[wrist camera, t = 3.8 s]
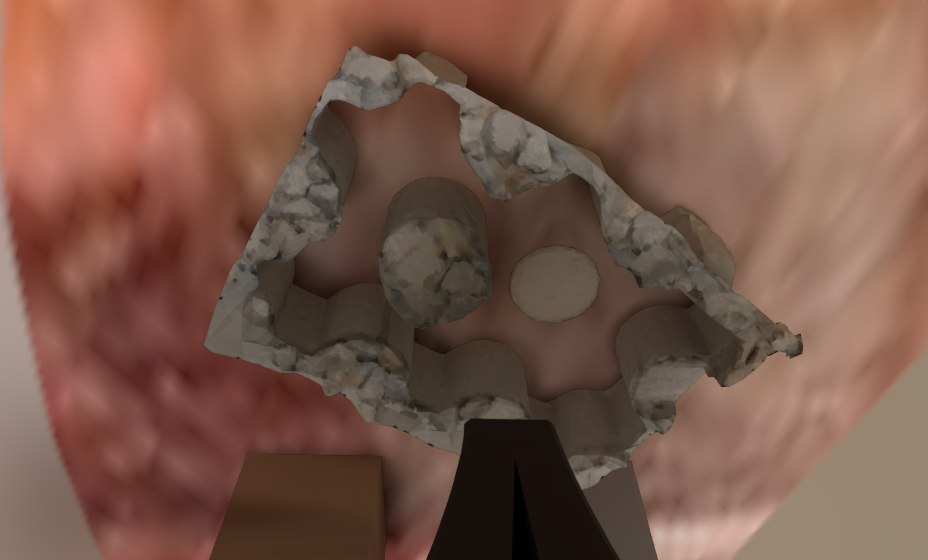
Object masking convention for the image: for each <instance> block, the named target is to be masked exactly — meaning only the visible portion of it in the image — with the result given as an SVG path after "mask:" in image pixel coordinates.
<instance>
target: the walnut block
mask: <svg viewBox="0 0 928 560" xmlns="http://www.w3.org/2000/svg"><path fill="white" fill-rule="evenodd" d="M386 542H387V535H386V520H385V504H384V489H383V473H382V458H381V456H354V455H300V454H247V456H246V458H245V461H244V464H243V467H242V470H241V472H240V475H239V478H238V481H237V483H236V486H235V489H234V492H233V495H232V497H231V500H230V503H229V506H228V509H227V511H226V514H225V517H224V520H223V523H222V525H221V528H220V531H219V534H218V537H217V539H216V542H215V545H214V548H213V550H212V553H211V556H210V559H209V560H385V551H386Z"/></svg>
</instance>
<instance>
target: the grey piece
mask: <svg viewBox="0 0 928 560" xmlns="http://www.w3.org/2000/svg"><path fill="white" fill-rule="evenodd" d="M417 82H423V83H425V84H427V85H430V86H432V87H435V88H438V89H440V90H443V91H445V92H446V93H447V94H448V95H449V96H450V97H452V98H453V99H454V100H455V101H456V102H458V103H459V104H460V113H459V118H460V121H461V124H460V132H459V136H460V145H461V151H462V153H463V154H464V156H465V158H466V160H467V161H468V163H469V165H470V167H471V168H472V170H473V172H474V173H475V174H476V175H477V176H478V178H479V179H480V180H481V181H482V183H483V185H484V187H485V189H486V191H487V193H488V195H489V196H490V197H492V198H495V199H498V200H501V201H504V202H506V201H507V200H509V199H511V198H512V197H514V196H515V195H517V194H519V193H521V192H523V191H525V190H529V189H532V188H539V187H546V186H550V185H553V184H555V183H557V182H560V181H561V180H563V179H564V178H565V177H566V176H568V175H569V174H573V173H575V174H577V175H579V176H580V177H582V178H583V179H585V180H586V181H587V182H588V183H589V184H590V188H591V194H592V199H593V203H594V206H595V209H596V211H597V214H598V217H599V221H600V224H601V229H602V235H603V237H604V239H605V241H606V244H607V246H608V251H609V253H610V255H611V257H612V259H613V261H614V263H615V265H617V266H620V267H623V268H626V269H628V270H629V271H630V272H632V273H633V275H634V277H635V279H636V281H637V283H638V286H639V288H652V287H664V288H665V290H667V291H670V290H676V289H680V290H681V291H682V292H683V293H684V294H685V295H687V296H688V297H689V298H690V299H691V300H692V301H693V302H694V304H693V305H692V306H691V307H689V308H688V309H687V308H682V307H677V306H672V305H657V306H652V307H649V308H646V309H643V310H640V311H638V312H637V313H635V314H634V315H632V316H631V317H630V318H629V319H628V320H627V321H626V322H625V323H624V324H623V325H622V327H621V329H620V330H619V332H618V334H617V337H616V340H615V350H616V354H617V357H618V361H619V365H620V369H621V373H622V376H623V378H621V379H620V380H618V381H617V382H616V383H615V384H614V385H613V386H612V387H611V388H609V389H608V390H604V391H599V390H592V389H577V390H572V391H569V392H567V393H564V394H562V395H560V396H558V397H557V398H556V399H554V400H552V401H549V402H547V403H545V402H542V401H539V400H537V399H534V398H532V397H530V396H528V393H527V382H526V375H525V366H524V363H523V361H522V359H521V358H520V356H519V355H518V354H517V353H516V352H515V351H514V350H513V349H512V348H511V347H509V346H508V345H505V344H503V343H500V342H496V341H490V340H485V339H484V340H474V341H470V342H467V343H463V344H460V345H459V346H457V347H455V348H454V349H452V350H450V351H449V352H447V353H445V354H440V353H437V352H435V351H433V350H431V349H429V348H427V347H424V346H422V345H420V344H418V343H416V342H414V331H415V327H416V328H418V329H424V328H427V327H430V326H433V325H435V324H437V323H438V322H452V321H455V320H458V319H461V318H463V317H465V316H466V315H468V314H470V313H471V312H472V311H473V310H475V309H476V308H477V307H478V306H479V305H480V304H481V303H482V302H483V301H484V300H489V298H490V296H491V294H492V292H493V283H494V272H493V270H492V267H491V265H490V262H489V256H488V247H487V232H486V220H485V214H484V211H483V208H482V206H481V204H480V202H479V200H478V199H477V198H476V196H475V195H474V194H473V192H472V191H471V190H470V189H468V188H467V187H466V186H464V185H462V184H460V183H459V182H458V181H454V180H450V179H447V178H444V177H426V178H422V179H418V180H415V181H413V182H411V183H409V184H408V185H407V186H406V187H404V188H403V189H402V190H401V191H399V192H398V193H397V194H396V195H395V196H394V198H393V201H392V202H391V205H390V207H389V211H388V215H387V220H386V224H385V229H384V233H383V237H382V243H381V245H380V248H379V251H378V254H377V255H378V271H379V280H380V282H381V283H382V285H380V284H375V283H359V284H355V285H351V286H349V287H346V288H344V289H342V290H340V291H339V292H337V293H336V294H335V295H333V296H332V297H330V298H328V299H324V298H321V297H319V296H316V295H314V294H312V293H310V292H308V291H306V290H303V289H301V288H299V287H297V286H296V285H294V284H293V279H294V275H295V261H294V257H295V256H296V255H297V254H298V253H299V252H300V251H301V250H303V249H304V248H305V247H306V246H307V245H308V244H310V243H315V242H320V241H325V240H327V239H328V238H329V237H331V236H332V235H334V234H335V232H336V230H337V228H338V226H339V224H340V223H341V221H342V218H343V215H342V207H343V205H344V201H345V197H346V195H347V192H348V189H349V186H350V184H351V181H352V178H353V175H354V172H355V167H356V162H357V153H356V146H355V141H354V139H353V137H352V135H351V133H350V131H349V129H348V128H347V127H346V125H345V124H344V123H343V121H342V120H341V119H340V118H338V117H337V116H336V115H335V114H334V113H333V112H332V111H331V110H330V109H329V107H328V104H329V102H330V101H333V100H340V101H344V102H347V103H350V104H352V105H354V106H356V107H359V108H362V109H365V110H372V109H376V108H380V107H384V106H387V105H389V104H391V103H394V102H396V101H398V100H400V99H401V98H402V97H403V95H404V93H405V92H406V91H407V90H408V89H409V88H410V87H411V86H413V85H414V84H415V83H417ZM466 84H467V75H466V74H464V73H463V72H462V71H460V70H459V69H458V68H457V67H456V66H455V65H453V64H452V63H449V62H448V61H446V60H445V59H443V58H441V57H439V56H436V55H434V54H431V53H428V52H424V51H423V52H422V53H421V54H420V55H419V56H417V57H416V58H415V59H414V58H412V57H411V56H409V55H407V54H399V55H398V56H397V57H396V58H395V60H394V61H388V60H385V59H382V58H379V57H376V56H372V55H369V54H366V53H365V52H364V51H362V50H361V49H360V48H359V47H351V48H349V50H348V52H347V54H346V57H345V59H344V62H343V64H342V66H341V68H340V70H339V72H338V73H337V74H336V76H335V77H334V78H333V79H331V80H330V81H329V82H328V84H327V86H326V88H325V90H324V92H323V93H322V95H321V97H320V99H319V101H318V103H317V105H316V107H315V109H314V111H313V113H312V116H311V118H310V120H309V122H308V125H307V127H306V130H305V132H304V135H303V140H302V144H301V146H300V148H299V150H298V152H297V154H296V157H295V158H294V159H293V160H292V161H291V162H290V163H289V164H288V165H287V166H286V168H285V169H284V171H283V173H282V174H281V176H280V178H279V180H278V182H277V184H276V186H275V189H274V191H273V194H272V196H271V199H270V201H269V204H268V207H267V209H266V210H265V211H264V213H263V214H262V215H261V217H260V219H259V221H258V223H257V225H256V227H255V229H254V231H253V233H252V235H251V237H250V239H249V241H248V243H247V246H246V248H245V250H244V252H243V254H242V256H241V259H240V260H238V258H237V259H236V261H235V263H234V265H233V267H232V269H231V271H230V273H229V276H228V278H227V281H226V283H225V286H224V288H223V291H222V293H221V296H220V298H219V300H218V303H217V305H216V308H215V310H214V314H213V317H212V320H211V323H210V327H209V330H208V333H207V337H206V340H205V343H204V346H205V347H207V348H208V349H209V350H210V351H211V352H214V353H218V354H222V355H226V356H230V357H234V358H238V359H242V360H246V361H249V362H252V363H255V364H258V365H261V366H264V367H267V368H269V369H272V370H274V371H277V372H279V373H298V374H300V375H302V376H305V377H307V378H309V379H311V380H313V381H315V382H316V383H318V384H320V385H321V387H322V389H323V391H324V393H325V395H326V396H332V395H334V394H336V393H339V392H340V393H341V394H343V395H344V396H345V397H347V398H348V399H349V400H351V402H352V403H353V405H354V406H355V407H356V409H357V410H358V412H359V413H360V415H361V416H362V417H363V418H364V420H365V421H366V422H370V423H375V424H380V425H385V426H391V427H394V428H397V429H399V430H402V431H404V432H407V433H409V434H411V435H413V436H414V437H416V438H418V439H420V440H422V441H423V442H425V443H427V444H429V445H431V446H432V447H436V448H439V449H443V450H447V451H451V452H454V453H456V454H457V455H459V456H460V454H461V449H462V443H463V436H464V423H465V422H467V421H468V420H470V419H471V418H482V419H531V420H549V421H550V422H551V423H552V424H553V425H554V426H555V429H556V432H557V435H558V437H559V440H560V442H561V445H562V447H563V450H564V452H565V455H566V457H567V459H568V461H569V464H570V466H571V468H572V470H573V472H574V474H575V477H576V479H577V481H578V483H579V485H580V487H581V489H582V490H584V489H588V488H589V487H591V486H593V485H595V484H597V483H598V482H599V481H600V480H601V479H602V478H603V477H604V476H606V475H607V474H608V473H609V472H610V471H612V470H616V469H618V468H621V467H627V465H628V462H629V458H630V454H631V453H632V452H633V451H634V450H635V449H636V447H637V446H638V445H639V444H640V443H641V442H642V441H643V440H645V439H646V438H647V437H648V436H649V435H651V434H653V433H655V432H659V433H661V434H664V433H666V432H667V431H668V430H669V428H670V427H671V426H672V425H673V422H674V418H675V415H676V407H675V403H676V400H677V399H678V397H679V396H681V395H682V394H683V393H684V392H685V391H686V390H688V389H689V388H690V387H691V386H692V385H693V384H694V383H695V382H696V381H697V380H698V379H699V378H700V377H701V376H702V375H703V374H704V373H705V372H706V373H707V375H708V377H715V379H716V380H717V381H718V383H719V384H720V386H721V387H729V386H731V385H733V384H735V383H737V382H739V381H741V380H743V379H744V378H745V377H747V376H748V375H749V374H750V373H752V372H753V371H754V370H755V369H756V368H757V367H758V366H759V365H761V364H762V363H763V362H764V360H765V359H766V357H767V356H770V355H772V354H774V353H776V352H778V351H780V352H785V353H786V357H787V356H789V355H790V359H791V358H793V357H795V356H798V355H800V354H802V351H803V343H802V338H801V334H798V335H795V336H794V335H793V334H792V333H791V332H790V331H789V330H788V328H787V326H786V325H784V324H782V323H781V322H778V323H774V322H773V321H772V320H770V319H769V318H768V317H767V316H765V315H764V314H763V313H762V312H761V311H760V310H759V309H758V308H756V307H755V306H754V305H753V304H752V303H751V302H750V301H749V300H748V299H746V298H745V297H743V296H742V295H739V294H737V293H735V292H734V291H733V290H732V289H731V288H732V282H733V277H734V271H735V266H736V265H735V262H734V259H733V256H732V253H731V250H730V249H729V248H728V247H727V246H726V245H725V243H724V242H723V240H722V239H721V238H720V237H719V236H718V235H716V234H715V233H714V232H712V231H711V229H710V228H709V226H708V225H707V224H706V223H704V222H703V221H702V220H701V219H700V218H698V217H697V216H695V215H693V214H691V213H689V212H688V211H686V210H684V209H682V208H680V207H675V208H673V209H672V210H671V211H669V212H668V213H666V214H665V215H663V216H660V217H657V216H656V215H654V214H653V213H651V212H649V211H647V210H645V209H643V208H642V207H641V206H639V205H638V204H637V203H635V202H634V201H633V200H632V199H631V198H630V197H629V196H628V195H627V194H626V193H625V192H624V191H623V190H622V189H621V188H620V186H619V185H618V184H617V183H615V182H614V181H613V180H612V179H611V178H610V177H609V176H607V175H606V172H605V170H604V167H603V165H602V164H601V160H600V158H599V157H598V156H597V154H595V153H593V152H592V151H589V150H587V149H585V148H582V147H579V146H576V145H573V144H570V143H568V142H565V141H563V140H561V139H559V138H557V137H556V136H554V135H552V134H550V133H549V132H547V131H545V130H543V129H541V128H539V127H538V126H536V125H534V124H532V123H530V122H528V121H526V120H524V119H522V118H520V117H519V116H517V115H515V114H513V113H511V112H509V111H507V110H505V109H503V108H501V107H499V106H498V105H496V104H494V103H492V102H490V101H488V100H486V99H484V98H483V97H481V96H479V95H477V94H476V93H474V92H472V91H470V90H469V89H467V88H466ZM599 283H600V274H599V272H598V270H597V267H596V264H595V262H594V261H593V260H592V259H591V258H590V257H588V256H587V255H586V254H585V253H584V252H582V251H579V250H575V249H574V248H573V247H567V246H565V245H557V246H547V247H543V248H538V249H536V250H534V251H532V252H530V253H528V254H526V255H525V256H524V257H523V258H522V259H521V260H519V261H518V262H517V264H516V266H515V268H514V269H513V271H512V273H511V277H510V287H509V290H510V293H511V296H512V299H513V302H514V303H515V304H516V305H517V306H518V307H519V308H520V309H521V310H522V311H523V312H524V313H525V314H526V315H527V316H528V317H529V318H530V319H532V320H536V321H539V322H549V323H558V322H562V321H566V320H569V319H572V318H575V317H577V316H579V315H581V314H583V313H584V312H585V311H586V310H587V309H588V307H589V306H590V305H591V304H592V303H593V302H594V300H595V299H596V298H597V295H598V289H599Z"/></svg>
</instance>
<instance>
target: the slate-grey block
mask: <svg viewBox="0 0 928 560" xmlns="http://www.w3.org/2000/svg"><path fill="white" fill-rule="evenodd" d="M582 491H583V493H584V495H585V497H586V499H587V501H588V503H589V505H590V507H591V509H592V510H593V512H594V514H595V516H596V518H597V519H598V521H599V523H600V525H601V527H602V528H603V530H604V532H605V534H606V536H607V538H608V539H609V541H610V543H611V545H612V547H613V548H614V550H615V552H616V553H617V555H618V557H619V558H620V560H658V558H657V554H656V551H655V547H654V543H653V539H652V536H651V532H650V528H649V525H648V521H647V517H646V513H645V510H644V506H643V502H642V498H641V495H640V491H639V487H638V483H637V480H636V476H635V472H634V469H633V465H632V461H629V462H628V465H627V467H621V468H618V469H616V470H612V471H610V472H609V473H608V474H607V475H606V476H604V477H603V478H602V479H601V480H600V481H599V482H598V483H597V484H595V485H593V486H591V487H589V488H588V489H584V490H582Z"/></svg>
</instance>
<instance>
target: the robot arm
mask: <svg viewBox="0 0 928 560" xmlns="http://www.w3.org/2000/svg"><path fill="white" fill-rule="evenodd" d="M426 560H620V558H619V557H618V555H617V553H616V552H615V550H614V548H613V547H612V545H611V543H610V541H609V539H608V538H607V536H606V534H605V532H604V530H603V528H602V527H601V525H600V523H599V521H598V519H597V518H596V516H595V514H594V512H593V510H592V509H591V507H590V505H589V503H588V501H587V499H586V497H585V495H584V493H583V491H582V489H581V487H580V485H579V483H578V481H577V479H576V477H575V474H574V472H573V470H572V468H571V466H570V464H569V461H568V459H567V457H566V455H565V452H564V450H563V447H562V445H561V442H560V440H559V437H558V435H557V432H556V429H555V426H554V425H553V424H552V423H551V422H550V421H549V420H531V419H482V418H471V419H470V420H468V421H467V422H465V423H464V436H463V443H462V449H461V454H460V459H459V464H458V468H457V472H456V475H455V479H454V483H453V486H452V490H451V493H450V496H449V499H448V502H447V505H446V508H445V511H444V514H443V517H442V520H441V523H440V526H439V529H438V531H437V534H436V537H435V539H434V542H433V544H432V547H431V549H430V552H429V554H428V557H427V559H426Z"/></svg>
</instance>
